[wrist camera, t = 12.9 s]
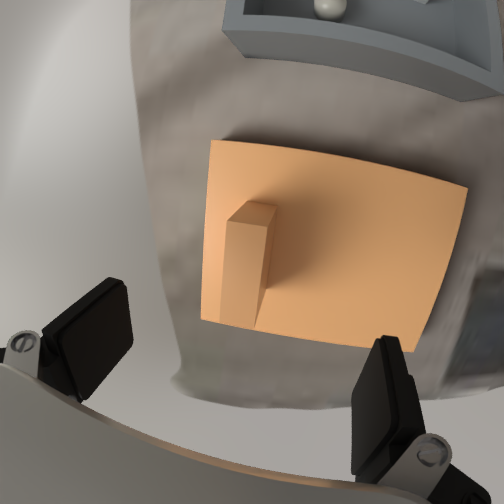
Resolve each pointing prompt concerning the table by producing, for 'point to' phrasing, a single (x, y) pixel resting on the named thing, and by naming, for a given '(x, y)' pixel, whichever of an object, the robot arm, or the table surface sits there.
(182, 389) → the table surface
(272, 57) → the tub
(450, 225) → the lid
